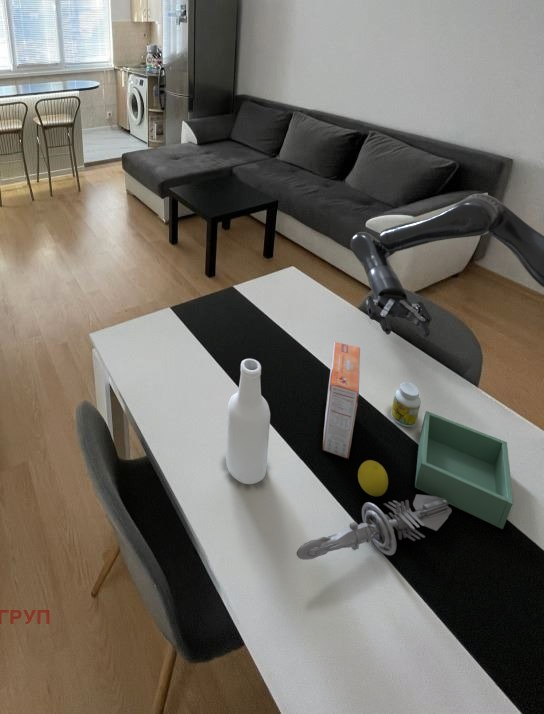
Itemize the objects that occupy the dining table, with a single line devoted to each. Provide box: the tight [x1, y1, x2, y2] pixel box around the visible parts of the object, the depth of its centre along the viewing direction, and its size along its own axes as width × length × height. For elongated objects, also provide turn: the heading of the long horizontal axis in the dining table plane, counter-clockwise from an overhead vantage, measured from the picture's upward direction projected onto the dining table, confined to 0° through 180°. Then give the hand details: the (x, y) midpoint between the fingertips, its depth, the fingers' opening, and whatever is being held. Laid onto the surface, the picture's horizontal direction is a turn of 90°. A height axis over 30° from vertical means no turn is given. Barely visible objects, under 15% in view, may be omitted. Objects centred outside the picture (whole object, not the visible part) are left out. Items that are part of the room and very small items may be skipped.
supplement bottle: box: [390, 381, 422, 428], centre depth 104 cm, size 5×5×10 cm
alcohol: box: [225, 358, 271, 485], centre depth 91 cm, size 9×9×30 cm
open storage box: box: [414, 410, 514, 530], centre depth 90 cm, size 15×15×8 cm
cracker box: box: [322, 341, 361, 460], centre depth 99 cm, size 14×6×21 cm, turn 154°
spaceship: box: [295, 494, 453, 561], centre depth 80 cm, size 8×35×8 cm
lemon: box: [357, 459, 389, 497], centre depth 89 cm, size 6×6×8 cm
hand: (407, 334), depth 104 cm, fingers open, 8 cm apart
